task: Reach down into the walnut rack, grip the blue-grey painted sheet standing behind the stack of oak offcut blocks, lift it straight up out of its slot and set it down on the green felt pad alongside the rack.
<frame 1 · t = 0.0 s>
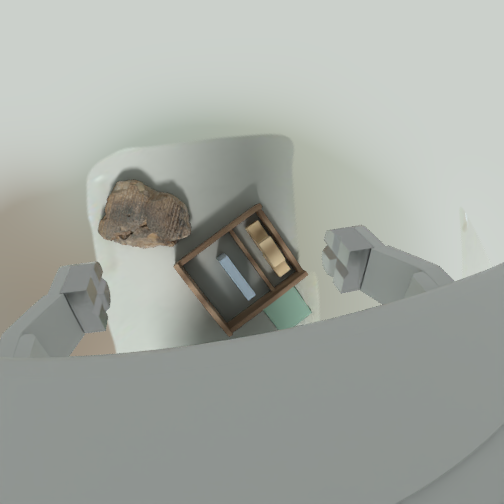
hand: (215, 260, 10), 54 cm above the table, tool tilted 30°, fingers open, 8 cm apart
offcut a: (274, 261, 67), resting in rack, touching offcut top
pad: (287, 310, 69), on the table
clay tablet: (148, 218, 61), on the table
offcut b: (257, 235, 66), resting in rack
sheet: (233, 273, 66), resting in rack
rack: (240, 268, 66), on the table
offcut top: (269, 251, 64), point 2 cm above the table, touching offcut a
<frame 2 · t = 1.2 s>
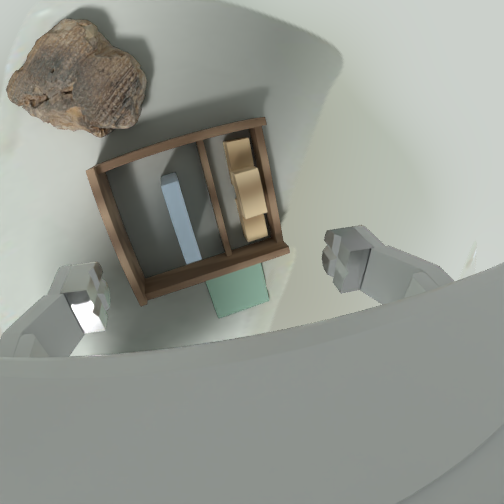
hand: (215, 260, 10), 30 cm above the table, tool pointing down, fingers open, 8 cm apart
offcut a: (248, 214, 43), resting in rack, touching offcut top
pad: (237, 286, 47), on the table
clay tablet: (84, 84, 28), on the table
offcut b: (237, 160, 39), resting in rack
sheet: (178, 208, 39), resting in rack
rack: (192, 204, 39), on the table
offcut top: (246, 189, 38), point 2 cm above the table, touching offcut a
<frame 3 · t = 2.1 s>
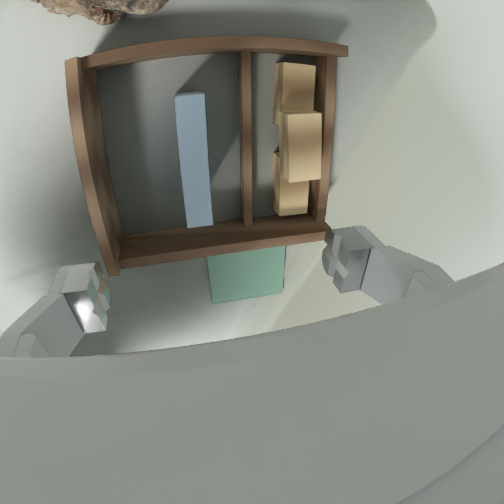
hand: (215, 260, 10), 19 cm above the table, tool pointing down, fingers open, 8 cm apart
offcut a: (286, 178, 30), resting in rack
pad: (246, 268, 34), on the table
offcut b: (288, 93, 25), resting in rack, touching offcut top
sheet: (190, 144, 25), resting in rack
rack: (212, 142, 26), on the table
offcut top: (294, 141, 25), point 2 cm above the table, touching offcut b
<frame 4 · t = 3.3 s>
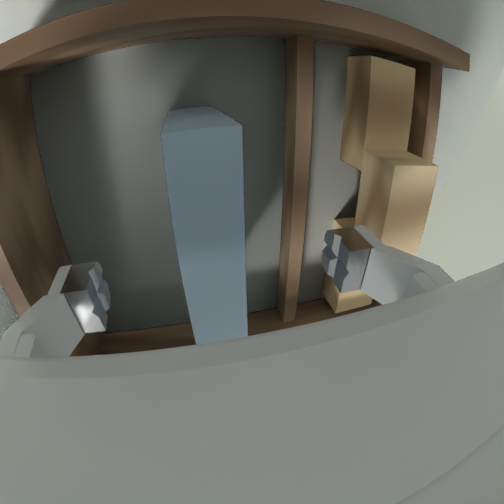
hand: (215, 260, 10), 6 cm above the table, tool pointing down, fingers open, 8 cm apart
offcut a: (345, 253, 20), resting in rack, touching offcut top
offcut b: (363, 109, 14), resting in rack, touching offcut top
sheet: (197, 203, 15), resting in rack
rack: (235, 199, 15), on the table
offcut top: (379, 202, 15), point 2 cm above the table, touching offcut a, offcut b
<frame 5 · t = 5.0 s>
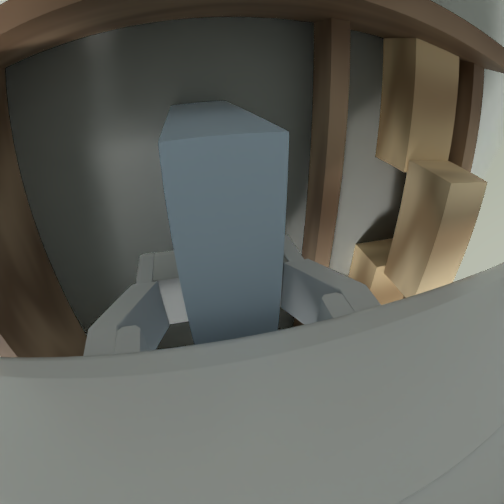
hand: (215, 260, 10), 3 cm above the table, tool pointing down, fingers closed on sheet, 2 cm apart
offcut a: (363, 278, 18), resting in rack, touching offcut top
offcut b: (400, 100, 12), resting in rack
sheet: (206, 219, 13), resting in rack, touching gripper
rack: (251, 214, 13), on the table
offcut top: (418, 218, 13), point 2 cm above the table, touching offcut a
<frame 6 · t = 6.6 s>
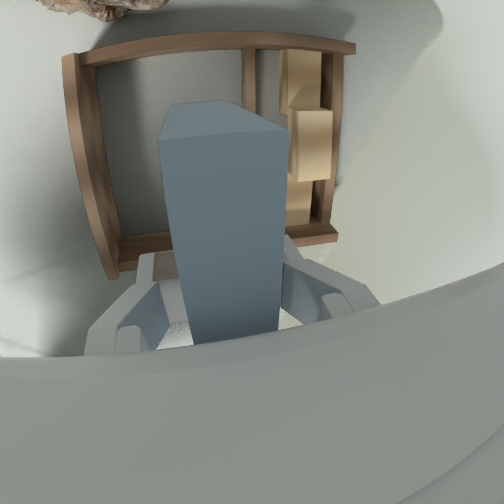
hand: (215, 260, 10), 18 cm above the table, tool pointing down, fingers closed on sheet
offcut a: (288, 188, 29), resting in rack
offcut b: (294, 81, 23), resting in rack
sheet: (206, 218, 13), point 15 cm above the table, touching gripper
rack: (214, 141, 25), on the table
offcut top: (303, 139, 24), point 2 cm above the table
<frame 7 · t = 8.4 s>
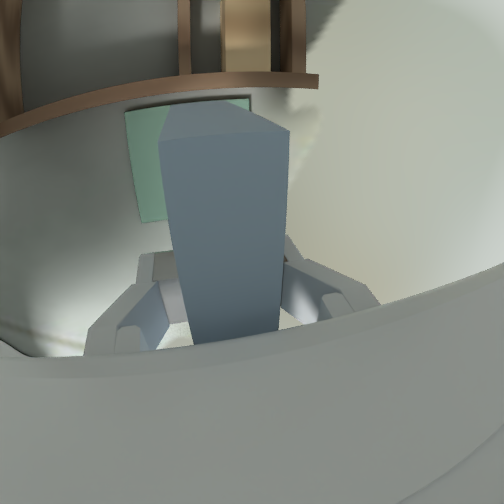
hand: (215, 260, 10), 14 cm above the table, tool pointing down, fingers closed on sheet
offcut a: (240, 36, 17), resting in rack, touching offcut top
pad: (190, 160, 21), on the table
sheet: (206, 219, 12), point 10 cm above the table, touching gripper
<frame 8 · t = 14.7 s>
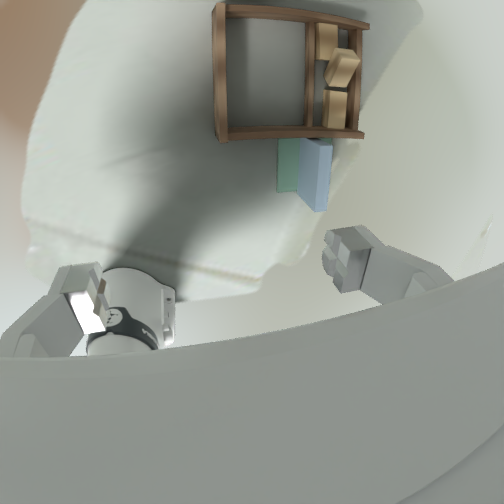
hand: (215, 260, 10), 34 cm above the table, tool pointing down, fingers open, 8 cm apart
offcut a: (330, 107, 41), resting in rack
pad: (303, 164, 45), on the table
offcut b: (321, 42, 35), resting in rack
sheet: (304, 165, 45), resting on pad
rack: (288, 72, 36), on the table
offcut top: (337, 62, 35), point 2 cm above the table, tilted 42°
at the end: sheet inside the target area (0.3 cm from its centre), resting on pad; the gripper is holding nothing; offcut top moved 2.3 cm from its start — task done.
